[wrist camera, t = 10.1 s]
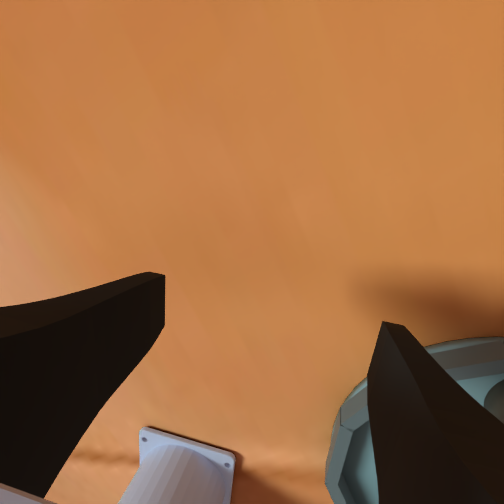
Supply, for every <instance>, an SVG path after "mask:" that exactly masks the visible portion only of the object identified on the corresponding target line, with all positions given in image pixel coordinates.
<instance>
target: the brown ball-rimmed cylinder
mask: <svg viewBox="0 0 504 504" xmlns="http://www.w3.org/2000/svg"><path fill="white" fill-rule="evenodd" d="M484 408H485V409H487V410H488V411H489V412H490V413H491V414H493V415H494V416H495V417H496V418H497V419H499V420H500V421H501V422H502V423H503V424H504V379H503V380H502V381H500V382H498V383H497V384H495V385H494V386H493V387H492V388H491V389H490V390H489V391H488V393H487V395H486V397H485V399H484Z"/></svg>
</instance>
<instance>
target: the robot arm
mask: <svg viewBox="0 0 504 504" xmlns="http://www.w3.org/2000/svg"><path fill="white" fill-rule="evenodd" d="M164 326H165V275H162V274H158V273H153V272H144V273H140V274H136V275H132V276H129V277H126V278H122V279H119V280H116V281H113V282H109V283H106V284H103V285H100V286H96V287H93V288H89V289H86V290H82V291H78V292H75V293H71V294H68V295H64V296H60V297H56V298H51V299H47V300H42V301H37V302H31V303H26V304H20V305H13V306H6V307H0V504H57V503H54V502H51V501H48V500H46V499H44V497H45V495H46V494H47V492H48V490H49V489H50V487H51V485H52V484H53V482H54V480H55V479H56V477H57V475H58V474H59V472H60V470H61V469H62V467H63V466H64V464H65V462H66V461H67V459H68V458H69V456H70V455H71V453H72V451H73V450H74V448H75V447H76V445H77V444H78V442H79V441H80V439H81V437H82V436H83V434H84V433H85V432H86V430H87V429H88V427H89V426H90V424H91V423H92V421H93V420H94V418H95V417H96V415H97V414H98V412H99V411H100V410H101V408H102V407H103V406H104V404H105V403H106V402H107V401H108V399H109V398H110V397H111V396H112V394H113V393H114V392H115V391H116V390H117V389H118V387H119V386H120V385H121V384H122V383H123V381H124V380H125V379H126V378H127V377H128V375H129V374H130V373H131V372H132V371H133V370H134V368H135V367H136V366H137V365H138V364H139V362H140V361H141V360H142V359H143V357H144V356H145V355H146V354H147V353H148V351H149V350H150V349H151V347H152V346H153V344H154V343H155V341H156V339H157V338H158V336H159V334H160V333H161V331H162V329H163V328H164ZM367 406H368V414H369V422H370V430H371V437H372V445H373V452H374V459H375V467H376V474H377V484H378V496H379V504H504V424H503V423H502V422H501V421H500V420H499V419H497V418H496V417H495V416H494V415H493V414H491V413H490V412H489V411H488V410H487V409H485V408H484V407H483V406H482V405H481V404H480V403H478V402H477V401H476V400H475V399H474V398H473V397H472V396H471V395H469V394H468V393H467V392H466V391H465V390H464V389H463V388H462V387H461V386H460V385H459V384H458V383H457V382H456V381H455V380H454V379H453V378H452V377H451V376H450V375H449V374H448V373H447V372H446V371H445V370H444V369H443V368H442V367H441V366H440V365H439V364H438V363H437V362H436V360H435V359H434V358H433V357H432V356H431V355H430V354H429V353H428V352H427V351H426V350H425V348H424V347H423V346H422V345H421V344H420V343H419V342H418V341H417V339H416V338H415V337H414V336H413V335H412V334H411V333H410V332H409V331H408V329H407V328H406V327H405V326H403V325H399V324H394V323H389V322H385V321H382V325H381V328H380V332H379V335H378V339H377V342H376V346H375V349H374V353H373V356H372V360H371V363H370V367H369V370H368V374H367ZM139 449H140V467H139V469H138V470H137V472H136V474H135V475H134V477H133V479H132V480H131V482H130V484H129V485H128V487H127V489H126V491H125V492H124V494H123V496H122V497H121V499H120V501H119V502H118V504H230V501H231V492H232V484H233V476H234V468H235V459H236V458H235V455H234V454H233V453H231V452H228V451H225V450H221V449H218V448H215V447H211V446H208V445H205V444H202V443H198V442H195V441H192V440H188V439H185V438H182V437H178V436H175V435H172V434H168V433H165V432H162V431H158V430H155V429H152V428H148V427H142V428H141V430H140V431H139Z"/></svg>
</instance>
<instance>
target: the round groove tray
mask: <svg viewBox="0 0 504 504" xmlns="http://www.w3.org/2000/svg"><path fill="white" fill-rule="evenodd" d="M424 348H425V350H426V351H427V352H428V353H429V354H430V355H431V356H432V357H433V358H434V359H435V360H436V362H437V363H438V364H439V365H440V366H441V367H442V368H443V369H444V370H445V371H446V372H447V373H448V374H449V375H450V376H451V377H452V378H453V379H454V380H455V381H456V382H457V383H458V384H459V385H460V386H461V387H462V388H463V389H464V390H465V391H466V392H467V393H468V394H469V395H471V396H472V397H473V398H474V399H475V400H476V401H477V402H478V403H480V404H481V405H482V406H483V407H484V399H485V397H486V395H487V393H488V391H489V390H490V389H491V388H492V387H493V386H494V385H495V384H497V383H498V382H500V381H502V380H503V379H504V337H481V338H467V339H460V340H453V341H446V342H442V343H438V344H434V345H430V346H426V347H424ZM325 485H326V487H327V489H328V491H329V493H330V496H331V498H332V500H333V502H334V504H379V496H378V484H377V474H376V467H375V459H374V452H373V445H372V437H371V430H370V422H369V414H368V406H367V377H366V378H365V379H364V380H363V381H361V382H360V383H359V384H358V385H357V386H356V387H355V388H354V389H353V391H352V392H351V393H350V394H349V396H348V397H347V398H346V399H345V401H344V403H343V405H341V407H340V410H339V412H338V414H337V417H336V420H335V422H334V425H333V430H332V436H331V445H330V448H329V452H328V456H327V460H326V471H325Z"/></svg>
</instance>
